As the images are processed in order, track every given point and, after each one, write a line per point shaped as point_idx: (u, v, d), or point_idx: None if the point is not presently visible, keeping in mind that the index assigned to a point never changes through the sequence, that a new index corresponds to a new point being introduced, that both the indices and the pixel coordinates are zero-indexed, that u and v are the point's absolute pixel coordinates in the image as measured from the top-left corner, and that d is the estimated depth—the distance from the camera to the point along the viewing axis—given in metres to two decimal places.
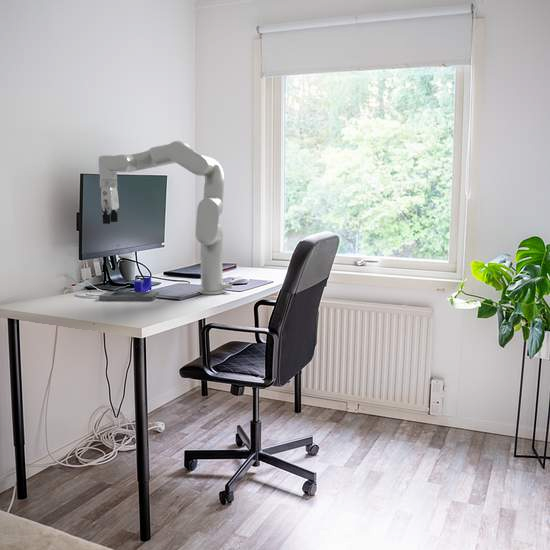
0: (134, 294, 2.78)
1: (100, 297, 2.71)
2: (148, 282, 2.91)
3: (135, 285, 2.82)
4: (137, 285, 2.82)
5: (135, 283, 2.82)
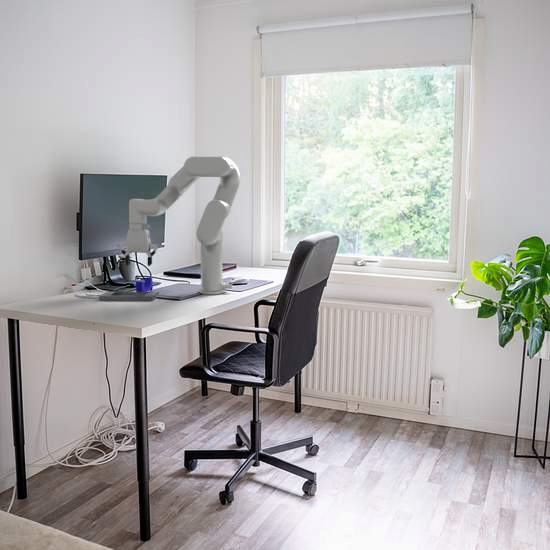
0: (134, 294, 2.78)
1: (100, 297, 2.71)
2: (149, 282, 2.91)
3: (137, 285, 2.82)
4: (138, 285, 2.82)
5: (137, 283, 2.82)
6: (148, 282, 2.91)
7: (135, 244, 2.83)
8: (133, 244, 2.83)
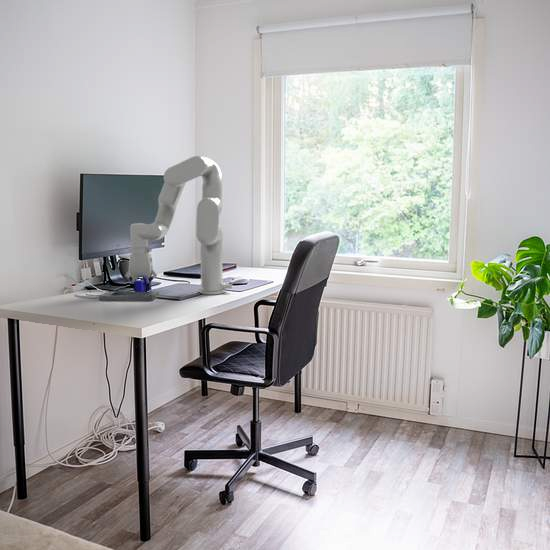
0: (134, 294, 2.78)
1: (100, 297, 2.71)
2: None
3: (136, 285, 2.82)
4: (138, 285, 2.82)
5: (136, 283, 2.82)
6: None
7: (138, 268, 2.84)
8: (135, 269, 2.84)
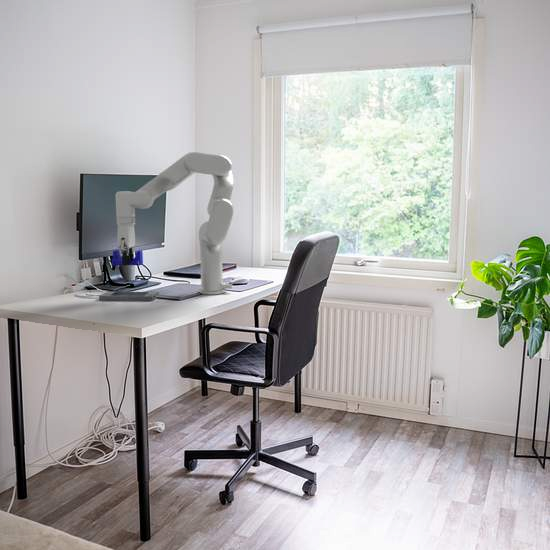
0: (134, 294, 2.78)
1: (100, 297, 2.71)
2: (119, 254, 2.74)
3: (140, 254, 2.71)
4: (141, 254, 2.71)
5: (140, 252, 2.71)
6: (119, 255, 2.74)
7: (131, 238, 2.70)
8: (131, 239, 2.69)
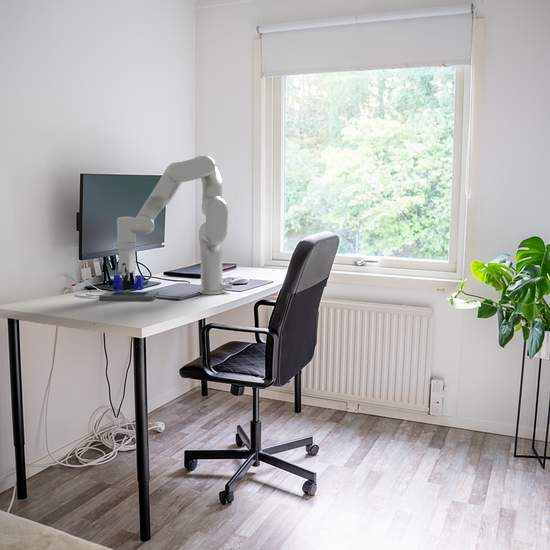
0: (134, 294, 2.78)
1: (100, 297, 2.71)
2: (120, 279, 2.76)
3: (141, 279, 2.72)
4: (141, 279, 2.73)
5: (141, 277, 2.72)
6: (120, 279, 2.75)
7: (132, 263, 2.72)
8: (132, 264, 2.71)
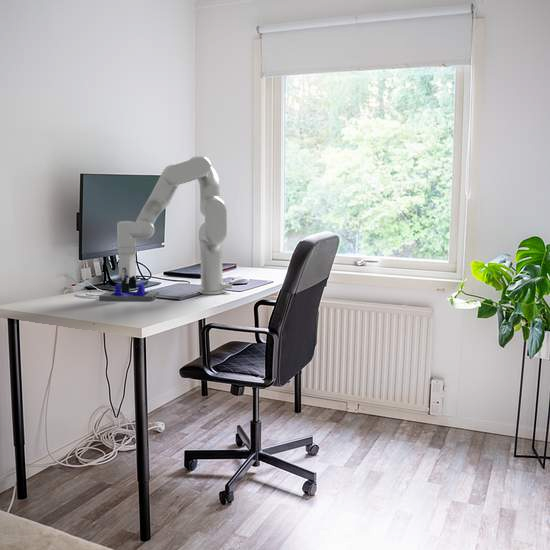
0: None
1: (100, 297, 2.71)
2: None
3: (142, 288, 2.74)
4: (143, 288, 2.74)
5: (142, 286, 2.73)
6: None
7: (132, 268, 2.72)
8: (132, 269, 2.71)
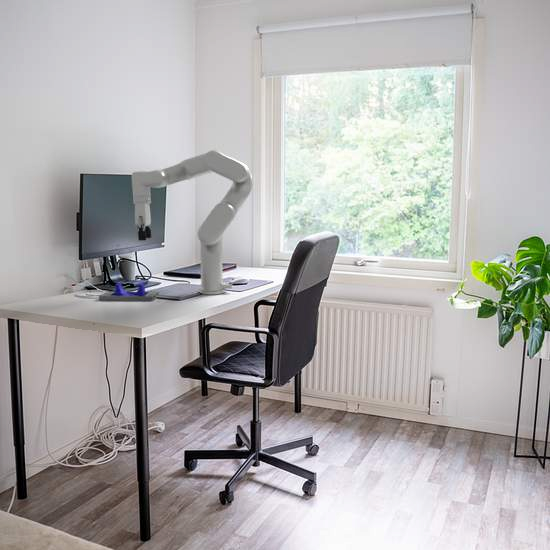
0: None
1: (100, 297, 2.71)
2: (122, 288, 2.78)
3: (143, 288, 2.74)
4: (143, 288, 2.75)
5: (143, 286, 2.74)
6: (121, 288, 2.77)
7: (148, 217, 2.80)
8: (148, 217, 2.79)
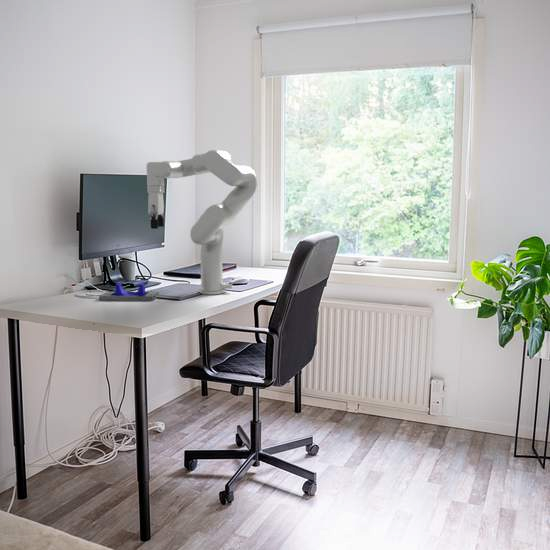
0: None
1: (100, 297, 2.71)
2: (122, 288, 2.78)
3: (143, 288, 2.75)
4: (143, 288, 2.76)
5: (143, 286, 2.75)
6: (121, 288, 2.77)
7: (161, 206, 2.90)
8: (160, 206, 2.89)
